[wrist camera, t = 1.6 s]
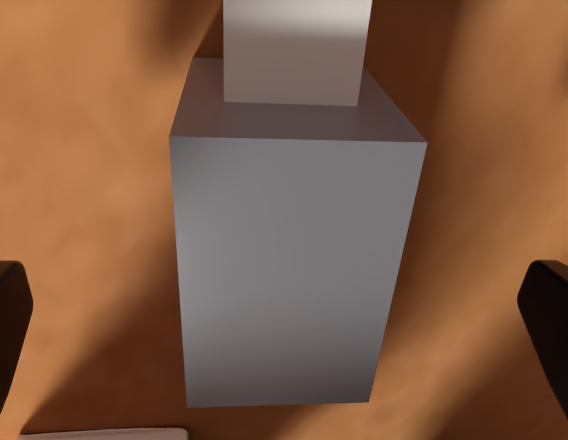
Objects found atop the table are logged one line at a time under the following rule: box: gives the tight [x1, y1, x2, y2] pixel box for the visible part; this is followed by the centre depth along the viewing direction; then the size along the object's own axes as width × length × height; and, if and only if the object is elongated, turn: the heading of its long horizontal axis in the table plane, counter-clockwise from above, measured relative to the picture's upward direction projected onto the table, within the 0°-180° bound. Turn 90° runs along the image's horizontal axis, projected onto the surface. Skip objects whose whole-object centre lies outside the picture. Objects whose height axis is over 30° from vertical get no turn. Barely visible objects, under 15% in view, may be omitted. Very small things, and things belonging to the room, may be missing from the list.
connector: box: [169, 0, 427, 408], centre depth 10 cm, size 7×4×4 cm, turn 177°
